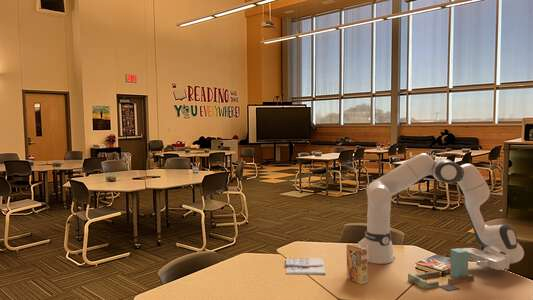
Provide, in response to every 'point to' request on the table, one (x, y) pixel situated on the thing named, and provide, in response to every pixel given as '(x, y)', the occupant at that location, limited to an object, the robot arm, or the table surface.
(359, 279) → the candy box
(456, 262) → the teal block
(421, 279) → the channel
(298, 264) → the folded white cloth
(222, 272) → the table surface
